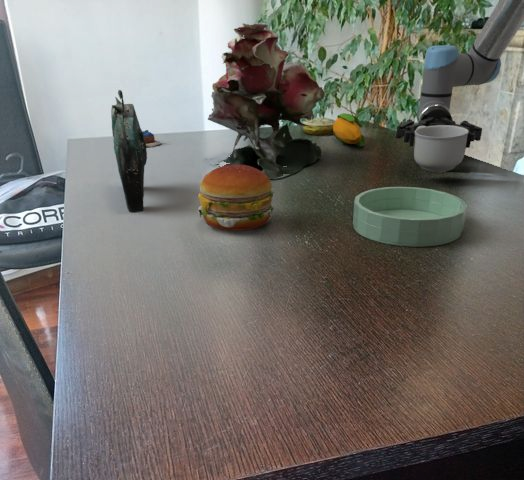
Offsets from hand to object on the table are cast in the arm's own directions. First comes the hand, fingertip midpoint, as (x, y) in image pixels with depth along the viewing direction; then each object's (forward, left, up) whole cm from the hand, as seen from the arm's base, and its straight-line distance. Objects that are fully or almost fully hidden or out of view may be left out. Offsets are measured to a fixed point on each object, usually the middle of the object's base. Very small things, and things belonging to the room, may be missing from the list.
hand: (440, 140), depth 119 cm
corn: (+21, -36, -9) cm, 43 cm away
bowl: (+6, +30, -9) cm, 32 cm away
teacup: (0, -2, -6) cm, 7 cm away
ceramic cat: (+60, +21, -9) cm, 64 cm away
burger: (+36, +33, -9) cm, 50 cm away
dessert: (+77, -27, -9) cm, 82 cm away
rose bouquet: (+41, -12, -9) cm, 44 cm away
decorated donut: (+31, -51, -9) cm, 61 cm away
